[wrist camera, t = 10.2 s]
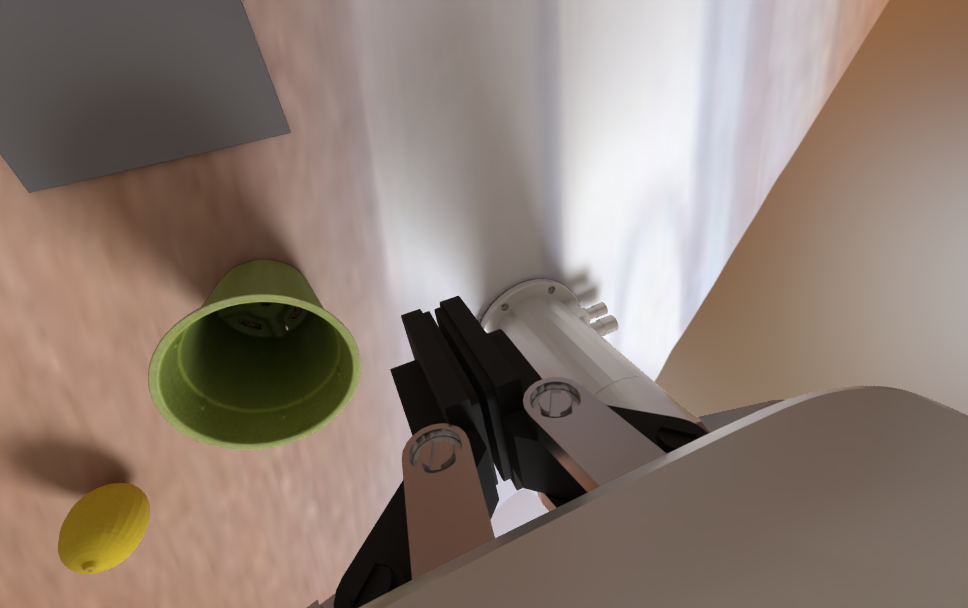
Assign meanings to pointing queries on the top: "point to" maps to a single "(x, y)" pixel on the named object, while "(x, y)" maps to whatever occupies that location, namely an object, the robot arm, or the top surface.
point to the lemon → (103, 528)
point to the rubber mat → (127, 85)
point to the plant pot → (255, 362)
